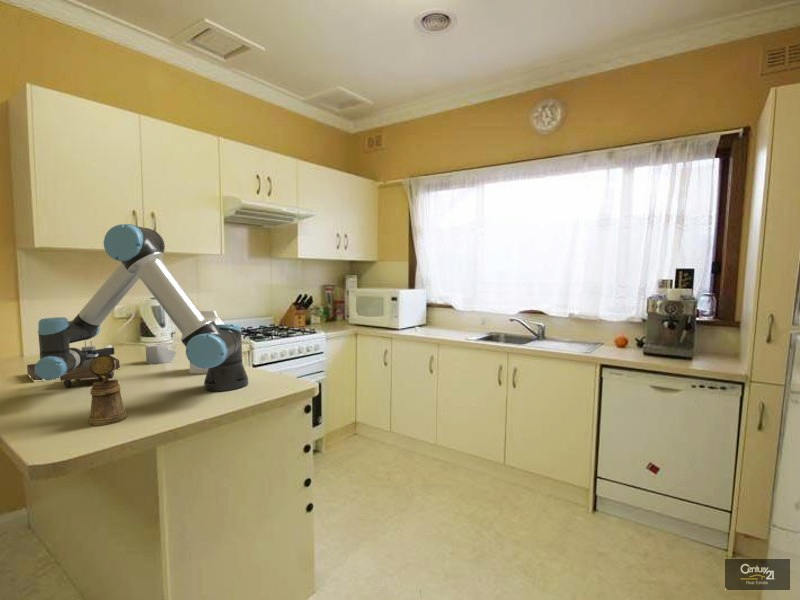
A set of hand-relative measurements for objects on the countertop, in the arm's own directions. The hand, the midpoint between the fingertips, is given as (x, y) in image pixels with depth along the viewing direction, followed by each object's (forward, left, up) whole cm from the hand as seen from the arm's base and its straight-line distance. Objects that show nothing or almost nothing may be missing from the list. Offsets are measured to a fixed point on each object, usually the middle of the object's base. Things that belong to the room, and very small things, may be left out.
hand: (90, 349), depth 165 cm
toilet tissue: (+29, -18, -13) cm, 37 cm away
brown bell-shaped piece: (-54, -20, -13) cm, 59 cm away
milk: (+1, -43, -13) cm, 45 cm away
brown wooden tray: (+22, +13, -13) cm, 29 cm away
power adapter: (-2, 0, -8) cm, 9 cm away
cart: (-2, 0, -13) cm, 13 cm away
